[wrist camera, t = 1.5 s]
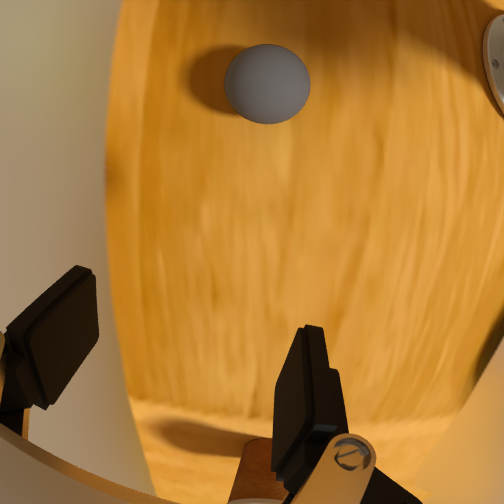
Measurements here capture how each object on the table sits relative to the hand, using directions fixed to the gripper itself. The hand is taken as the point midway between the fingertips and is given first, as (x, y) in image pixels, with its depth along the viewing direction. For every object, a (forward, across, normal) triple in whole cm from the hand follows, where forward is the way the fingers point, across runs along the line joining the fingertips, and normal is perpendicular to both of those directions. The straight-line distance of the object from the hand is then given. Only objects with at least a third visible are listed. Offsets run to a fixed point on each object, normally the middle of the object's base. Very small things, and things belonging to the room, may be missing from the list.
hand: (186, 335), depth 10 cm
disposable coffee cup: (+16, -10, +32) cm, 37 cm away
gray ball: (+13, 0, -10) cm, 16 cm away
